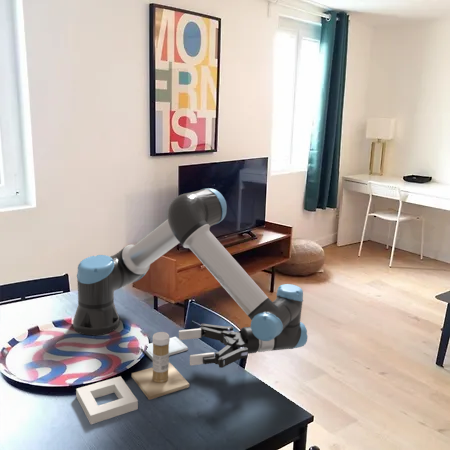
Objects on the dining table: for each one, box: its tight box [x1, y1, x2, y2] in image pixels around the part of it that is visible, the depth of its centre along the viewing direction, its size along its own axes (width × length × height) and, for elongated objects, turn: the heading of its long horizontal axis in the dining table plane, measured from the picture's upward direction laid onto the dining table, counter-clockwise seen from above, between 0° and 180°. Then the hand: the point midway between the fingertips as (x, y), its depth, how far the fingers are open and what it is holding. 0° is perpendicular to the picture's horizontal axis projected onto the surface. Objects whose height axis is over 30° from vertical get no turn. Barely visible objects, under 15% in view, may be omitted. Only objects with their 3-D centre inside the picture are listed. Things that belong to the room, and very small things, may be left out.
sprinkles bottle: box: [152, 331, 171, 383], centre depth 127 cm, size 5×5×13 cm
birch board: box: [131, 362, 190, 401], centre depth 128 cm, size 12×12×1 cm
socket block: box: [75, 375, 139, 425], centre depth 118 cm, size 12×12×2 cm
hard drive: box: [145, 336, 189, 362], centre depth 145 cm, size 2×8×12 cm
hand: (184, 347), depth 128 cm, fingers open, 13 cm apart
